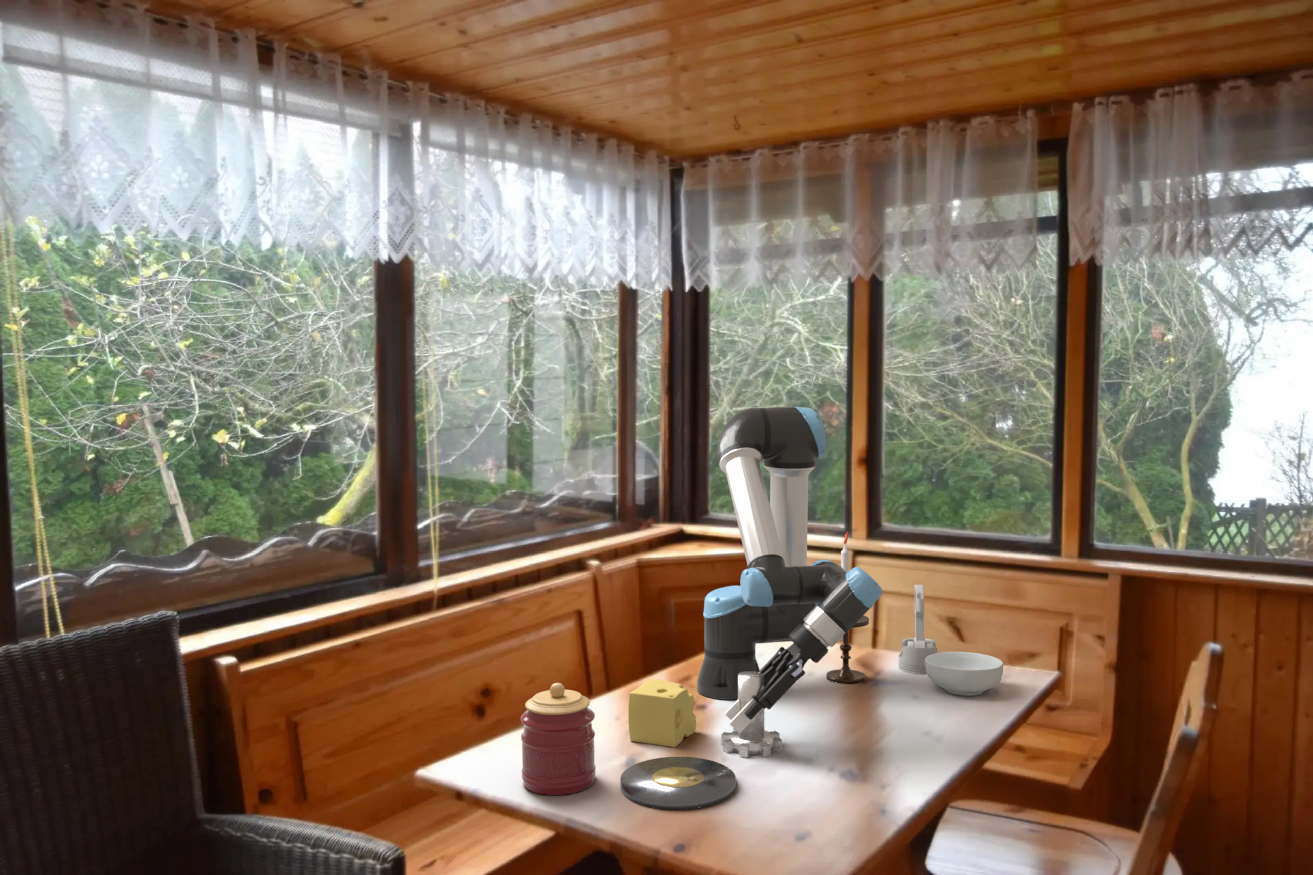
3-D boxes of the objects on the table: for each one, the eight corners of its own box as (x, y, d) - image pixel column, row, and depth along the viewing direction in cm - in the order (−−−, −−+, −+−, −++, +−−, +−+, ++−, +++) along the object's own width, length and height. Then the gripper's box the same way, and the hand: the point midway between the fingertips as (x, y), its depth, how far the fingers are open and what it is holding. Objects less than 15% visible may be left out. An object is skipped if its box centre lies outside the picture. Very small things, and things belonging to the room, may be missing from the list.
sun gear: (710, 742, 196) (710, 671, 195) (762, 732, 200) (761, 663, 200) (740, 761, 185) (739, 686, 184) (793, 751, 190) (793, 678, 189)
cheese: (696, 732, 202) (695, 682, 201) (674, 749, 192) (674, 698, 192) (649, 725, 206) (649, 677, 206) (626, 742, 196) (625, 691, 196)
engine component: (899, 673, 241) (942, 675, 239) (899, 589, 240) (942, 590, 238) (897, 661, 252) (938, 663, 250) (897, 580, 251) (938, 581, 249)
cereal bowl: (1011, 686, 229) (1011, 656, 229) (992, 706, 215) (992, 673, 215) (937, 676, 239) (937, 646, 238) (915, 694, 225) (915, 663, 224)
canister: (528, 768, 183) (526, 672, 182) (599, 768, 183) (597, 672, 182) (516, 796, 170) (514, 694, 169) (592, 796, 170) (590, 694, 169)
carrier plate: (603, 775, 179) (603, 767, 179) (703, 757, 187) (702, 749, 187) (649, 818, 161) (648, 808, 161) (757, 796, 169) (757, 786, 169)
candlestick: (851, 669, 245) (850, 527, 243) (878, 681, 235) (878, 532, 233) (813, 675, 241) (812, 530, 239) (839, 687, 231) (838, 536, 229)
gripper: (841, 660, 184) (754, 752, 184) (818, 637, 202) (738, 720, 201) (813, 633, 183) (725, 725, 183) (792, 612, 201) (711, 695, 201)
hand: (732, 722), depth 192 cm, fingers closed on sun gear, 5 cm apart
